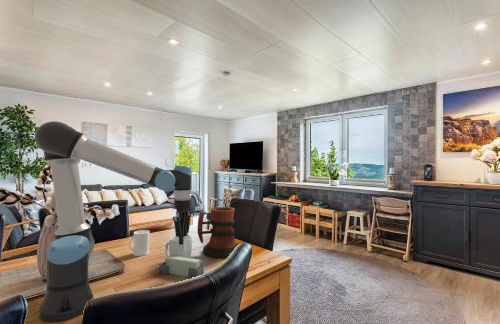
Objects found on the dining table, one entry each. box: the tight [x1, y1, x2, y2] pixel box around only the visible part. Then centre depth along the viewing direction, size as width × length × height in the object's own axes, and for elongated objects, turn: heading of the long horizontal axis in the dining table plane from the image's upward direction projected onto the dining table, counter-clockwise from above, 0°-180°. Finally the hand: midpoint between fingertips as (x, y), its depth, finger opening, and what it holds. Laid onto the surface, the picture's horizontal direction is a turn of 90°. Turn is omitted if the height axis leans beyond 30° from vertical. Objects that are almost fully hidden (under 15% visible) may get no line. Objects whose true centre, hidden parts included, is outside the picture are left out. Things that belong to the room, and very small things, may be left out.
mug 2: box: [164, 234, 193, 258], centre depth 131 cm, size 15×11×13 cm
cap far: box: [158, 260, 169, 276], centre depth 120 cm, size 6×4×4 cm
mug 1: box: [128, 229, 150, 257], centre depth 143 cm, size 12×8×12 cm
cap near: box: [187, 263, 205, 279], centre depth 116 cm, size 6×4×4 cm
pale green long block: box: [165, 255, 201, 278], centre depth 118 cm, size 4×16×7 cm, turn 71°
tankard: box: [197, 206, 239, 260], centre depth 149 cm, size 22×25×25 cm
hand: (182, 250), depth 119 cm, fingers closed
